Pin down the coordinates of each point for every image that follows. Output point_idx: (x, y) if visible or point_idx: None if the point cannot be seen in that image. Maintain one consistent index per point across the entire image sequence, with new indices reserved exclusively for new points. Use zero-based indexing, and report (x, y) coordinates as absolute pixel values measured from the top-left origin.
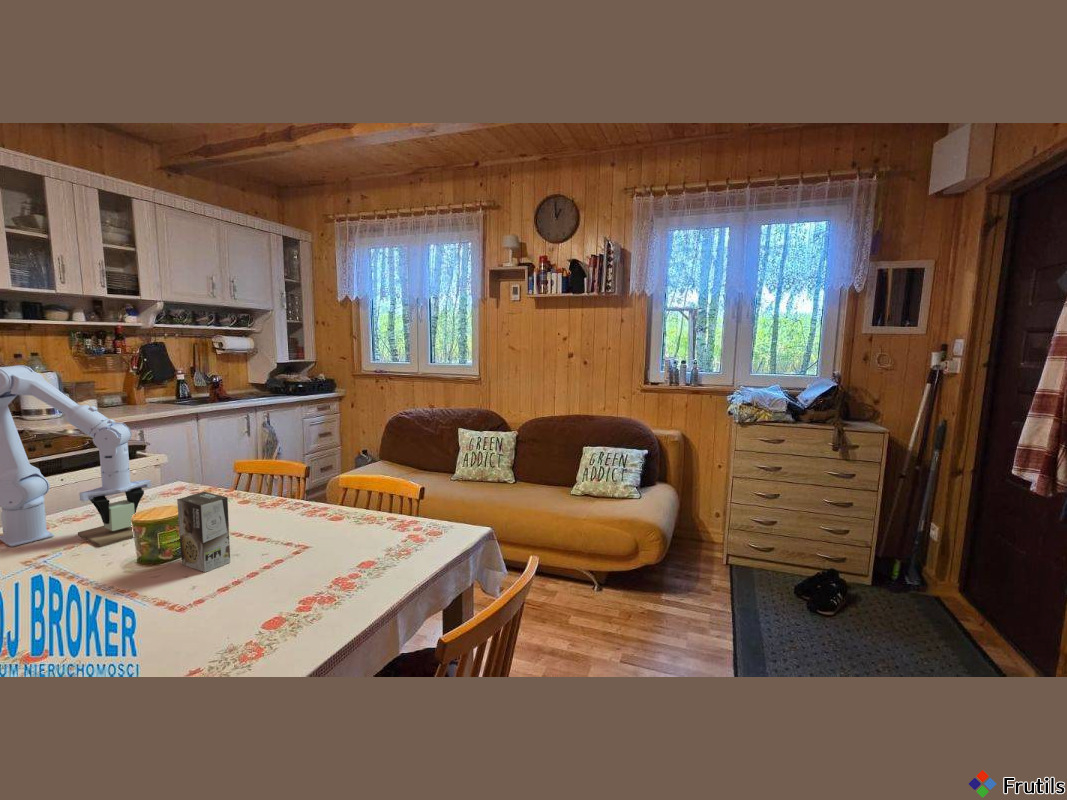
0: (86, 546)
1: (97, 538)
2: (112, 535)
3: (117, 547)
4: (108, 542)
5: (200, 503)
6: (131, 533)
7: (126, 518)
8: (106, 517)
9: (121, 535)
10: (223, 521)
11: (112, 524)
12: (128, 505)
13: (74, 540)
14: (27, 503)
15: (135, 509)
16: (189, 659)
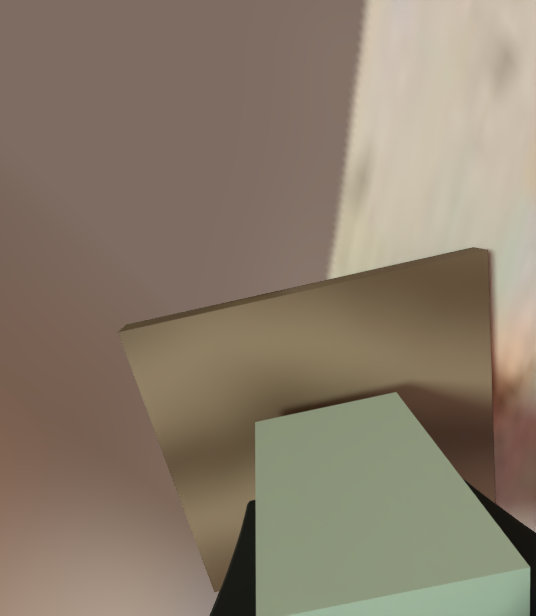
0: (515, 321)
1: (462, 374)
2: (388, 369)
3: (402, 163)
4: (435, 260)
5: None
6: (293, 329)
7: (320, 459)
8: (481, 501)
9: (349, 332)
10: None
11: (416, 424)
12: (320, 599)
13: (520, 457)
14: None
15: (240, 558)
16: None
